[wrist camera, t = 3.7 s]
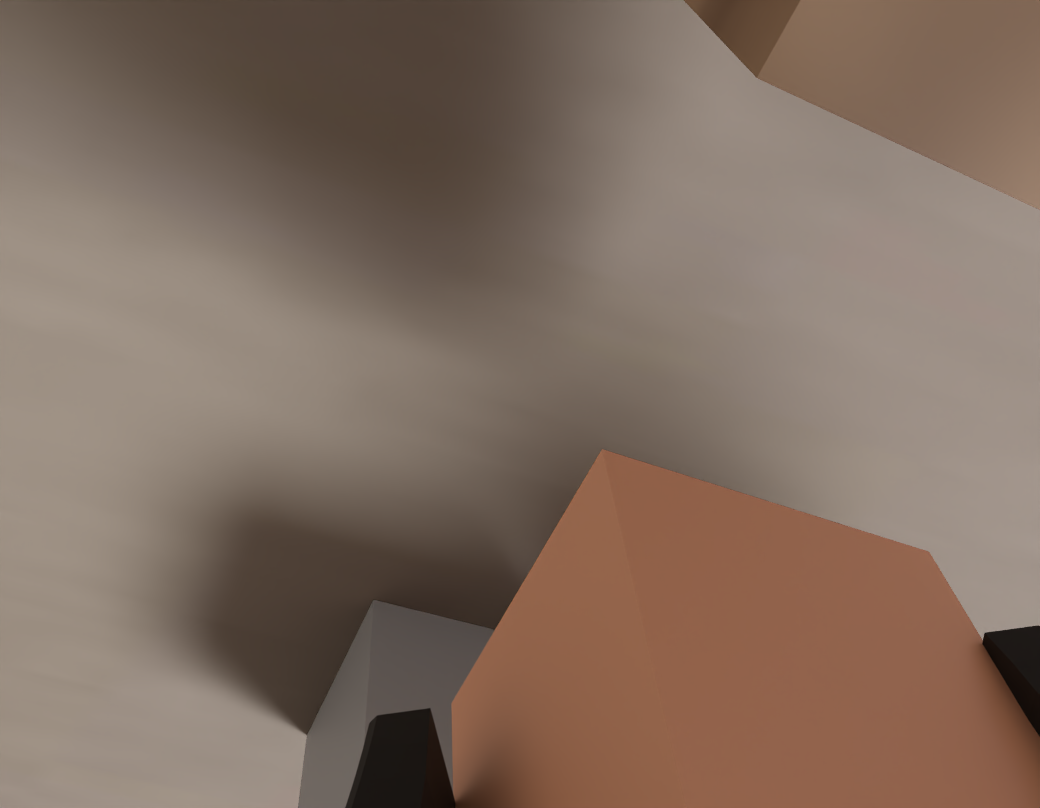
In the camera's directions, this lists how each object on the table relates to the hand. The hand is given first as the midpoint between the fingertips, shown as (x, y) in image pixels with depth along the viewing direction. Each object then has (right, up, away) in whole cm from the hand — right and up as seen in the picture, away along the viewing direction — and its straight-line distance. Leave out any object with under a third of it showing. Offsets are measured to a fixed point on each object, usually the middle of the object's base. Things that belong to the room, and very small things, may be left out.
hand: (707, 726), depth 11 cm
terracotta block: (0, +1, +1) cm, 1 cm away
